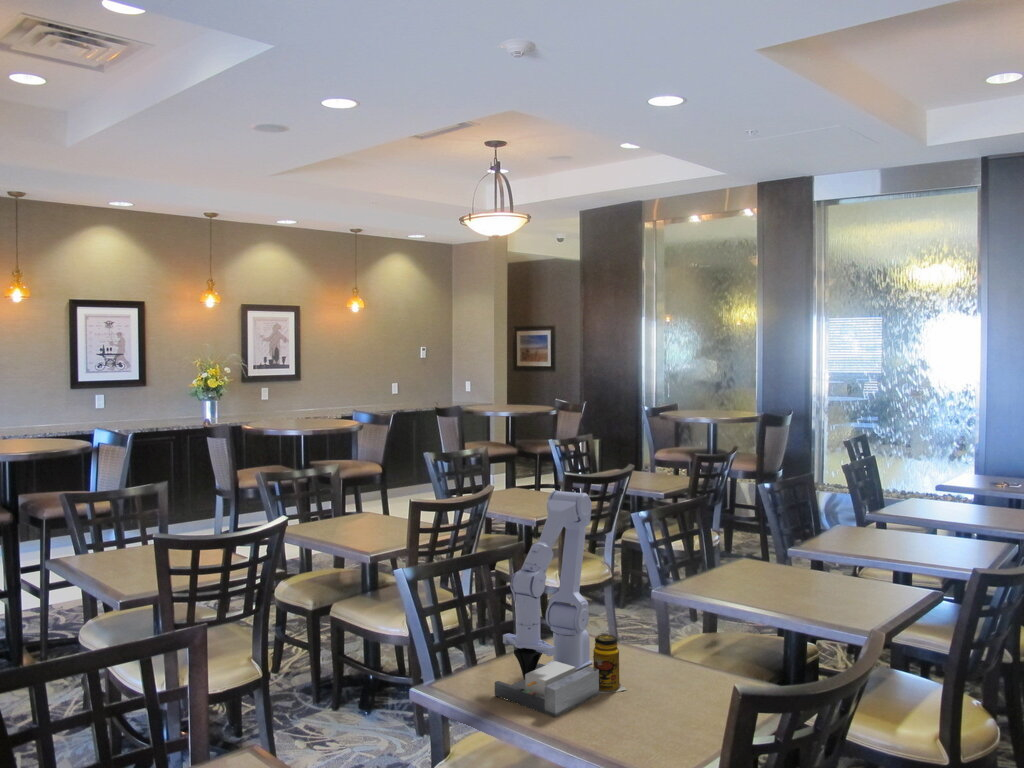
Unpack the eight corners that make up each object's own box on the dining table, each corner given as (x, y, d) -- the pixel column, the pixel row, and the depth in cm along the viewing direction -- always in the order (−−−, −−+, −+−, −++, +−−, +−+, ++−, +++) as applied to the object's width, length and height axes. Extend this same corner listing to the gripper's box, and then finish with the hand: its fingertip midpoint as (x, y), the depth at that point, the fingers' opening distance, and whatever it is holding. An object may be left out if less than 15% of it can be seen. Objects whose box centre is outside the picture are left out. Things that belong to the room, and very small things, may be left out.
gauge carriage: (555, 681, 198) (555, 661, 197) (575, 688, 194) (575, 667, 193) (517, 699, 188) (517, 677, 187) (538, 706, 184) (538, 684, 183)
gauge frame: (539, 676, 204) (539, 651, 204) (598, 695, 192) (598, 669, 192) (494, 696, 192) (494, 670, 192) (555, 717, 180) (554, 690, 180)
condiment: (598, 694, 193) (598, 643, 192) (584, 681, 201) (584, 632, 200) (627, 690, 195) (627, 639, 195) (612, 677, 203) (611, 629, 203)
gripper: (494, 619, 197) (494, 676, 198) (540, 632, 188) (541, 692, 188) (513, 613, 203) (514, 668, 203) (560, 625, 193) (560, 683, 193)
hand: (528, 679), depth 196 cm, fingers closed
